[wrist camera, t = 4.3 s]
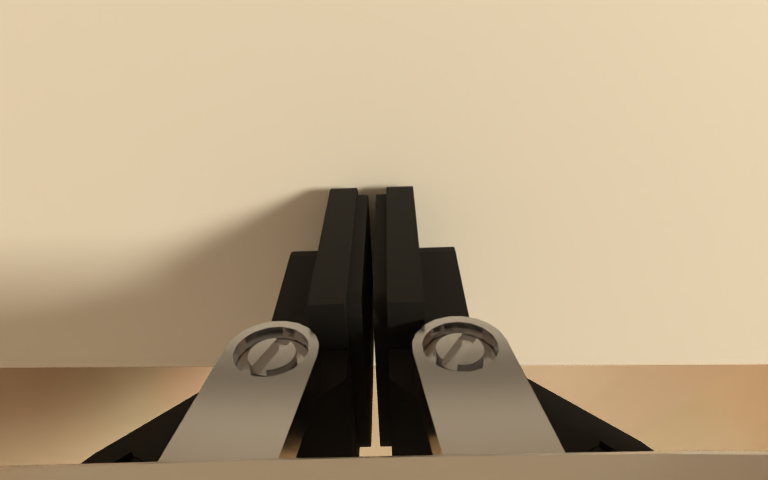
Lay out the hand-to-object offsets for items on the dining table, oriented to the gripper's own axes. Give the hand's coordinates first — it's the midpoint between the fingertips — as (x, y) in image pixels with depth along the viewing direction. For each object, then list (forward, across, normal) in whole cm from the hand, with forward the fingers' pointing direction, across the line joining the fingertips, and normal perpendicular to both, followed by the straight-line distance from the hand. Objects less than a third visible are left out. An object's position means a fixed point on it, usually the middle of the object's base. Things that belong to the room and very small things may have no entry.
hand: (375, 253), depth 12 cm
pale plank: (+2, -1, -1) cm, 2 cm away
